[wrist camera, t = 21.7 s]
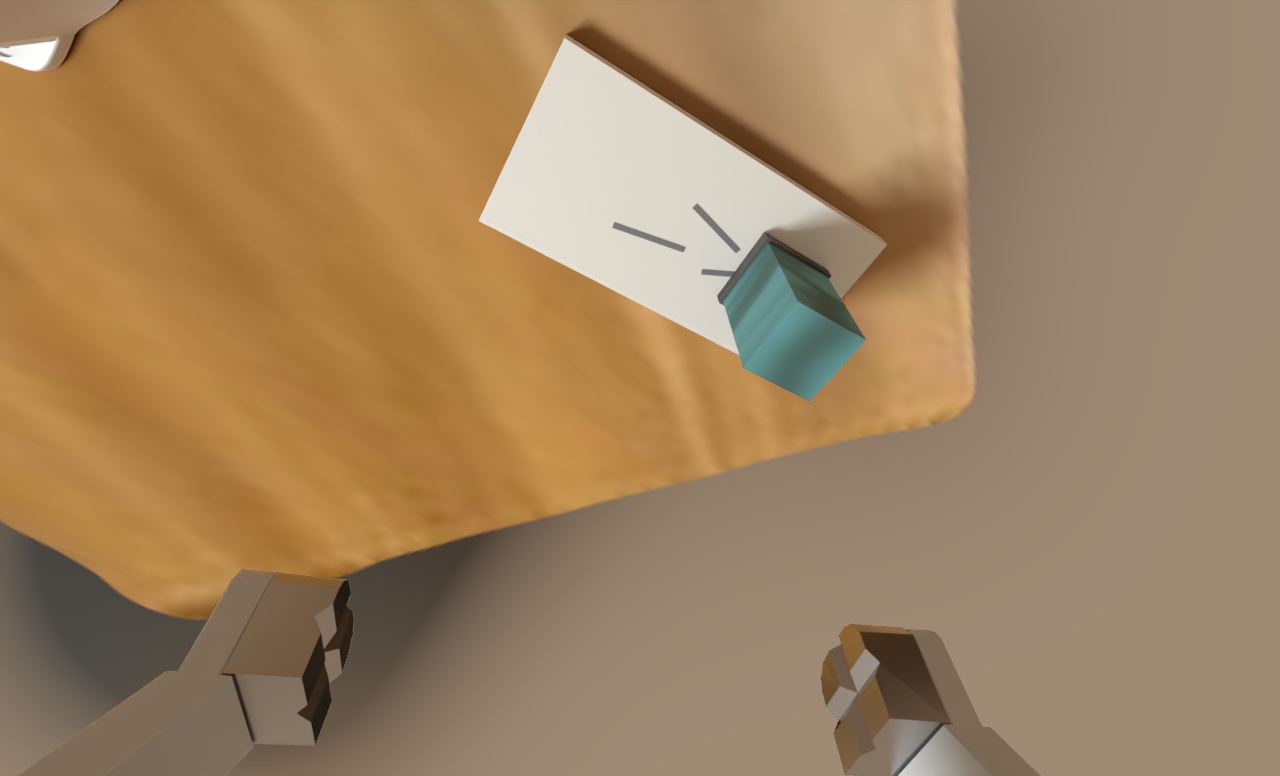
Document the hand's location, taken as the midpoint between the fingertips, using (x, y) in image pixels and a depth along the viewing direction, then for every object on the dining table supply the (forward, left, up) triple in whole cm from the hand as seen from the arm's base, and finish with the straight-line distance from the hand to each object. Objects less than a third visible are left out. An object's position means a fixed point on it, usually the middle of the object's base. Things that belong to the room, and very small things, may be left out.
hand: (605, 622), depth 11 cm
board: (+6, -6, -35) cm, 36 cm away
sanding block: (+13, -9, -34) cm, 37 cm away
